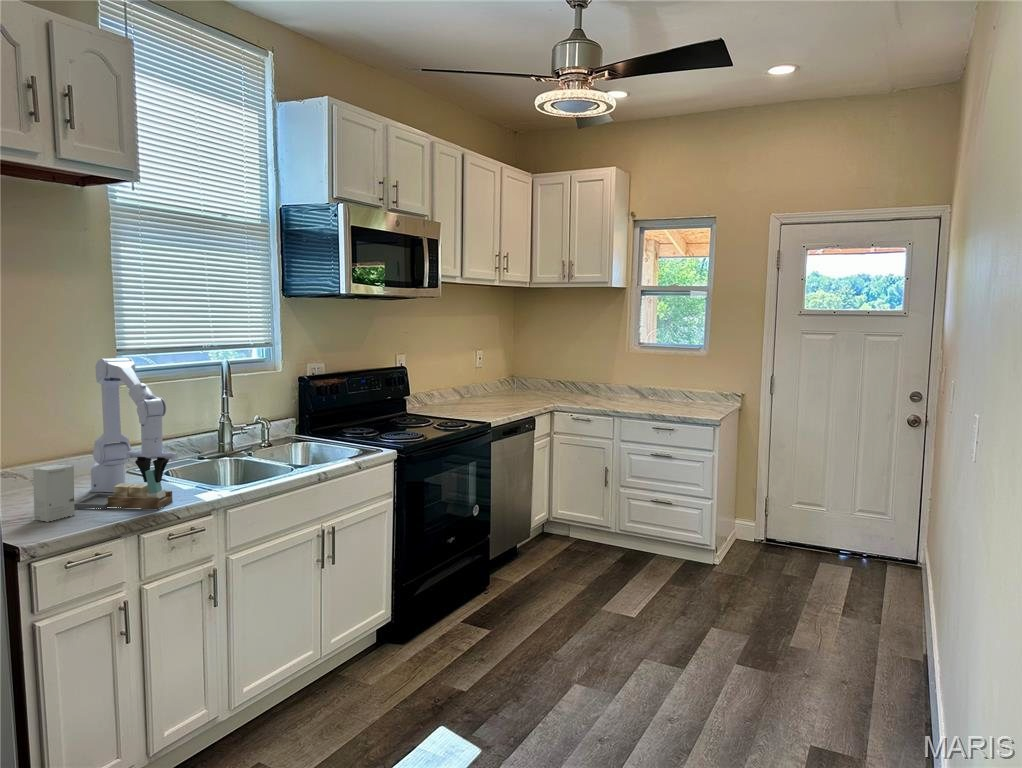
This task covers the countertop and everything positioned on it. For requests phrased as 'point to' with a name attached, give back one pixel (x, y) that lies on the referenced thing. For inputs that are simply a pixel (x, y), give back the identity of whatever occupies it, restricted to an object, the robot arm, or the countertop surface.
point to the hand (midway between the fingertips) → (152, 481)
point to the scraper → (154, 485)
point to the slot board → (140, 501)
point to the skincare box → (53, 492)
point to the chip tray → (94, 501)
